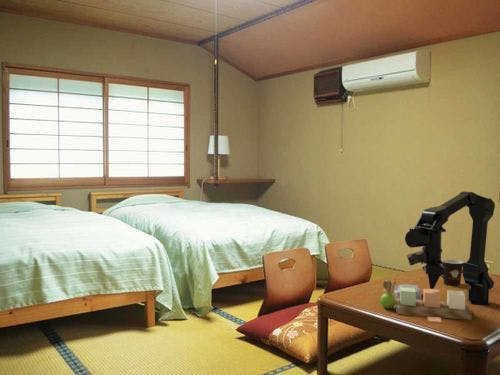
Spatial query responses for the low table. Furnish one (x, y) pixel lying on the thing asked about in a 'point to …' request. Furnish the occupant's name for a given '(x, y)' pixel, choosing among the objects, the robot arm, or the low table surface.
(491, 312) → the low table surface
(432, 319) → the tile
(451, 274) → the coffee mug
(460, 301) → the cream cube
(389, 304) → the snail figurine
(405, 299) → the key sage
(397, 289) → the stone block
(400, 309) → the walnut board
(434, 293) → the peach cube
